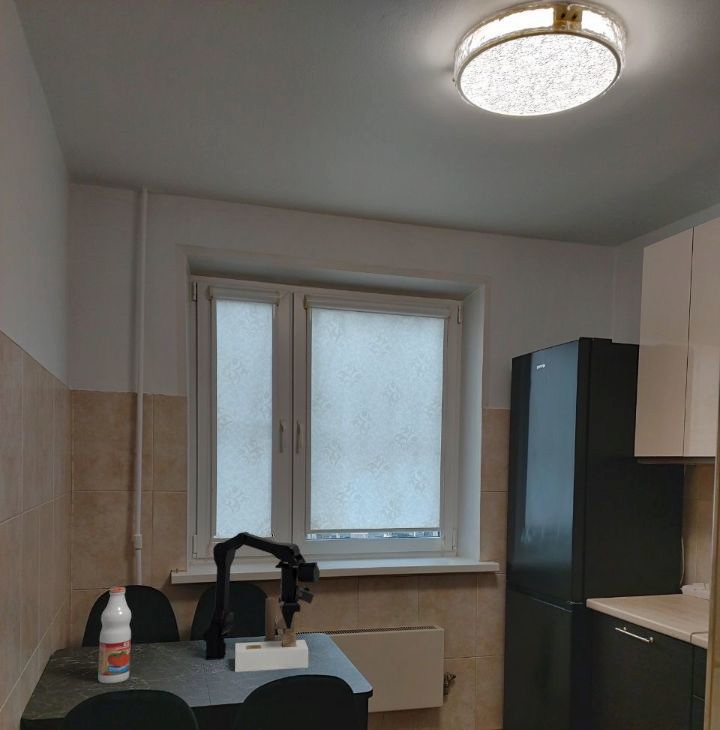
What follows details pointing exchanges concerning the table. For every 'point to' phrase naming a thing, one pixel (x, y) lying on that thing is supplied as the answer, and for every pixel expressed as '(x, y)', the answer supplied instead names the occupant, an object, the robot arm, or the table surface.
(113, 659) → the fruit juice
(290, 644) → the right peg
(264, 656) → the white peg base
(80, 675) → the table surface
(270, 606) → the wooden block
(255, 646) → the left peg
